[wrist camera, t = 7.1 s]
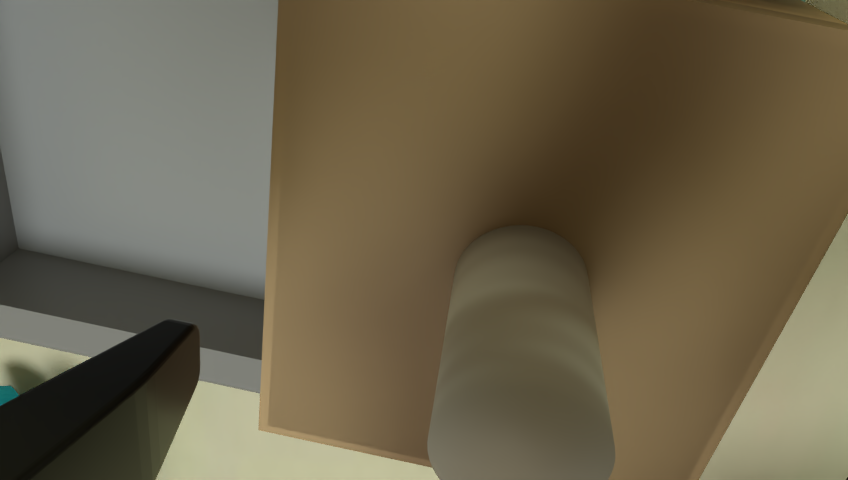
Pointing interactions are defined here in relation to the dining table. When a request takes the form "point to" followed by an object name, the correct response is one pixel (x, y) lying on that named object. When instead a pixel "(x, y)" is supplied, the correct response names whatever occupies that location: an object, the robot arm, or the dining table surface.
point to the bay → (137, 174)
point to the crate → (543, 225)
